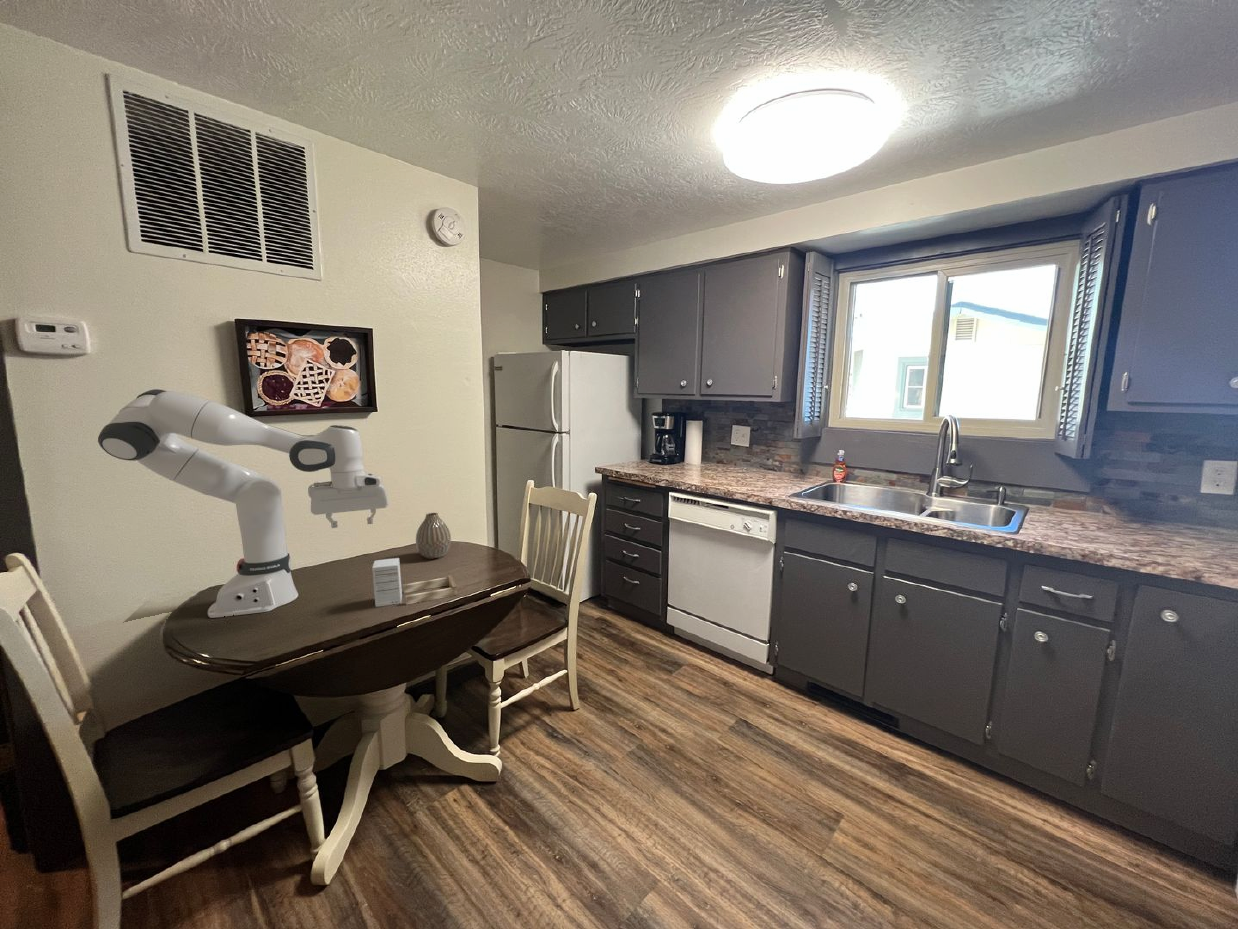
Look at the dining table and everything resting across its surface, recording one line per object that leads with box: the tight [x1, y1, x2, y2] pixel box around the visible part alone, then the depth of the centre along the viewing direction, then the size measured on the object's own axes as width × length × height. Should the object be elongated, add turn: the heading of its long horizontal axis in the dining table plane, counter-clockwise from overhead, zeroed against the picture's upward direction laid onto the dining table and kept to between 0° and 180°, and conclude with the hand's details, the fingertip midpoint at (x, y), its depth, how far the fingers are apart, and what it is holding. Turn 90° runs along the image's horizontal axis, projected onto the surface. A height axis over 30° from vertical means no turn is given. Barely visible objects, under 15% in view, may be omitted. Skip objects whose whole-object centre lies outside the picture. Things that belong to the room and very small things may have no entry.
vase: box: [415, 512, 452, 560], centre depth 194 cm, size 13×13×18 cm
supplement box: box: [371, 557, 403, 608], centre depth 152 cm, size 7×7×13 cm
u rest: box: [402, 574, 458, 606], centre depth 158 cm, size 15×11×3 cm
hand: (352, 525), depth 147 cm, fingers open, 8 cm apart
